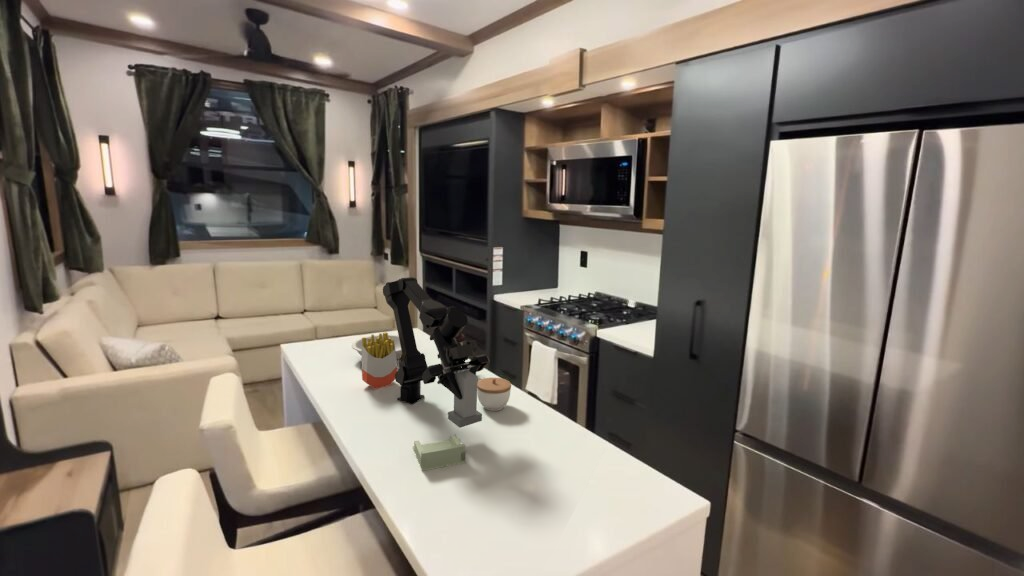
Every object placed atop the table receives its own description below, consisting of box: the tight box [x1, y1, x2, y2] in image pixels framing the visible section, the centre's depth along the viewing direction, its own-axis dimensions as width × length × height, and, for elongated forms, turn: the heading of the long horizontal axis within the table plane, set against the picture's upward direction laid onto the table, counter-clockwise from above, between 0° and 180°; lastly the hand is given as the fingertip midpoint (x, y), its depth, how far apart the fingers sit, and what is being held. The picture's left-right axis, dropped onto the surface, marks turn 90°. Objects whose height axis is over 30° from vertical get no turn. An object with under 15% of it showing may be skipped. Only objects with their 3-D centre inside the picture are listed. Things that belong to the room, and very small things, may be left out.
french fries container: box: [361, 331, 398, 390], centre depth 161 cm, size 5×11×18 cm, turn 129°
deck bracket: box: [412, 433, 467, 472], centre depth 119 cm, size 11×11×4 cm
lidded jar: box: [477, 377, 512, 412], centre depth 148 cm, size 11×11×9 cm
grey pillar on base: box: [447, 370, 483, 429], centre depth 126 cm, size 6×7×13 cm
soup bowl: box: [351, 334, 402, 360], centre depth 189 cm, size 24×24×7 cm
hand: (468, 397), depth 125 cm, fingers closed on grey pillar on base, 4 cm apart
